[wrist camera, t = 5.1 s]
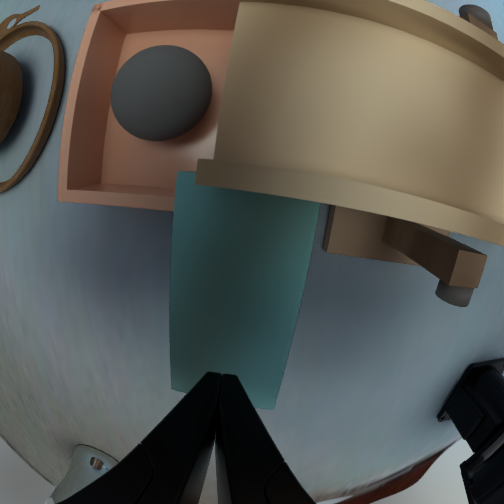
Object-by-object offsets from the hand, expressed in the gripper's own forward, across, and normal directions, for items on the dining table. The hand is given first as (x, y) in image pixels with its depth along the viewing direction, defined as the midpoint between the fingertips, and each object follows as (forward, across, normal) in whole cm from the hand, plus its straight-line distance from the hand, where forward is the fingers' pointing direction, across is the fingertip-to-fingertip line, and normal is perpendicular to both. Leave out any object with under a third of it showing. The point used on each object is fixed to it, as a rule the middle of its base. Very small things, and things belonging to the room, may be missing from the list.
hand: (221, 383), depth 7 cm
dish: (+7, +3, -8) cm, 12 cm away
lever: (+2, -7, -5) cm, 9 cm away
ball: (+5, +4, -8) cm, 10 cm away
